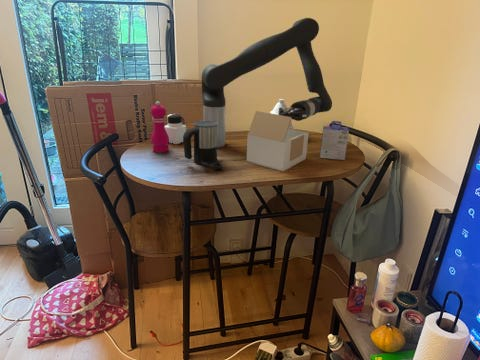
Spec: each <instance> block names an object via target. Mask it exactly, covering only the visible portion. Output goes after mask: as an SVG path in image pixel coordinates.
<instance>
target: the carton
mask: <svg viewBox="0 0 480 360" xmlns="http://www.w3.org/2000/svg"><path fill="white" fill-rule="evenodd" d="M309 133H310V132H309V131H308V130H307V131H306V130H302V129H297V128H293V129H292V128H288V131H287V134H286V137H285V140H284V142H281V141H277V140H272V139H268V138H263V137H259V136H254V135H250V134H248V133H247V140H246V141H247V143H246V144H247V146H246V162H247V163H249V164H254V165H257V166H261V167H263V168H267V169H272V170H275V171H279V172H282V173H283V172H285V171H287V170H288V169H291V168H292V167H294V166H296V165H297V164H300V163H301V162H303V161H305V160H306V158H307V150H308V143H309V142H308V141H309Z"/></svg>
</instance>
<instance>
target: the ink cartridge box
mask: <svg viewBox="0 0 480 360" xmlns="http://www.w3.org/2000/svg"><path fill="white" fill-rule="evenodd" d="M349 131H350V129H349V127H344V126H342V121H338V120H332V121H331V126H327V125H324V126H323V128H322V137H321V145H320V146H321V147H320V153H319V158H321V159H331V160H339V161H340V160H342V161H343V160H344V161H345V160H346V154H347V146H348V140H349V134H350V133H349Z"/></svg>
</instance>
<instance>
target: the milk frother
mask: <svg viewBox="0 0 480 360" xmlns="http://www.w3.org/2000/svg"><path fill="white" fill-rule="evenodd" d="M217 125H218V123H217V122H214V121H204V120H196V121H193V127H191V128H189V129H186V132H185V133H184V136H183V142H182V144H183V152H184V158H185V159H187V160H191V159H193V163H195V164H198V165H204V166H207V167H211V168H213V169H215V170H218V171H219V170H220V169H224V165H223V164H221V163H220V162H218V161H219V160H218V148H217ZM192 137H193V151H192ZM192 152H193V154H192Z"/></svg>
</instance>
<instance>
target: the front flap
mask: <svg viewBox="0 0 480 360" xmlns="http://www.w3.org/2000/svg"><path fill="white" fill-rule="evenodd" d="M292 120H293V119H292V117H287V116H282V115H276V114H270V112H264V111H258V110H255V113H254V115H253V118H252V121H251V124H250V127H249V130H248V133H247V135H248V134H250V135H254V136H259V137H263V138H268V139H272V140H277V141H281V142H284V140H285V137H286V134H287V131H288V128H289V125H290V122H292Z"/></svg>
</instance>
